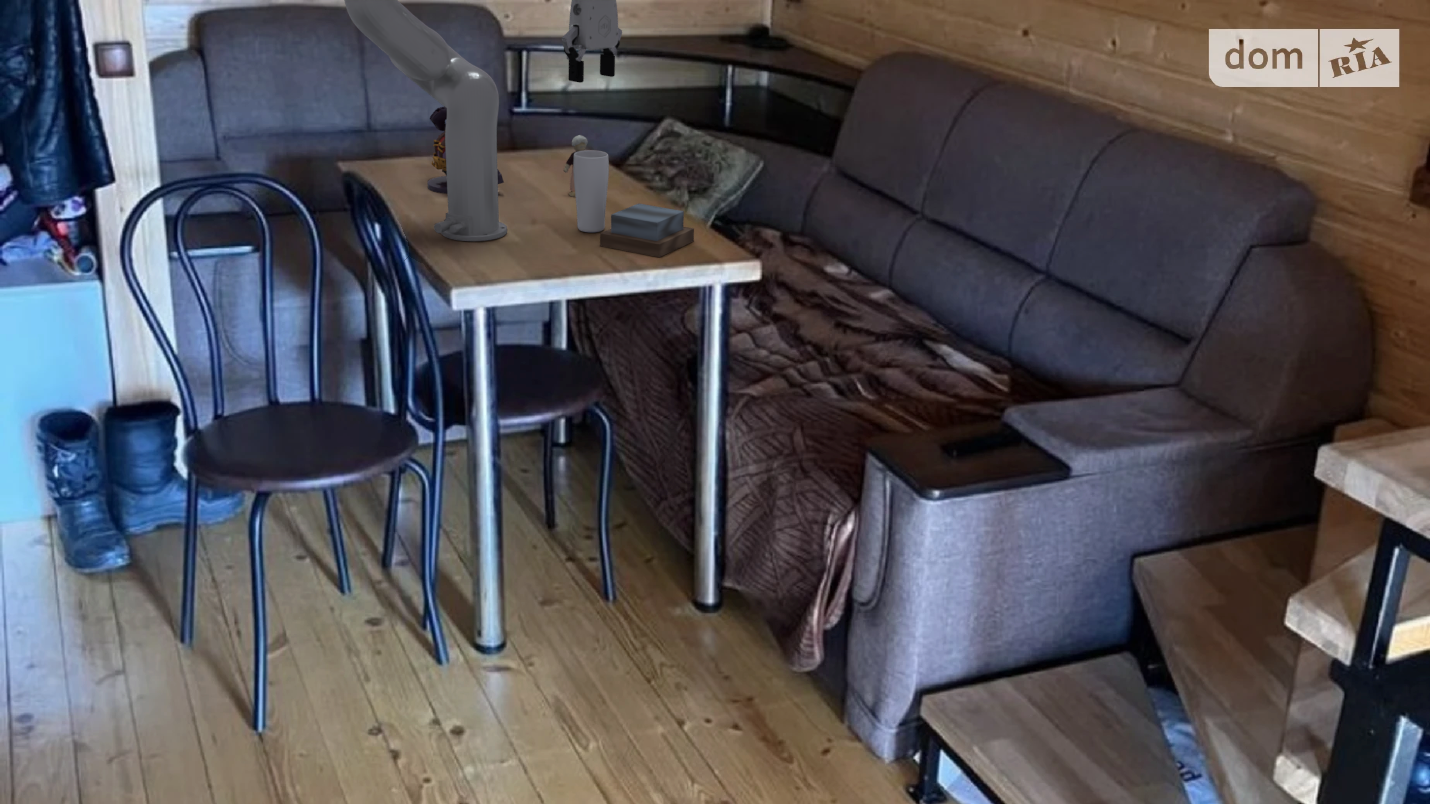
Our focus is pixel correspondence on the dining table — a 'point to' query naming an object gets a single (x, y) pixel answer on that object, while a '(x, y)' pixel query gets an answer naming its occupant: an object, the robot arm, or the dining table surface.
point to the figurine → (442, 153)
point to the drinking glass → (591, 189)
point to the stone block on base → (647, 230)
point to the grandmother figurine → (579, 145)
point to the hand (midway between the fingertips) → (591, 78)
